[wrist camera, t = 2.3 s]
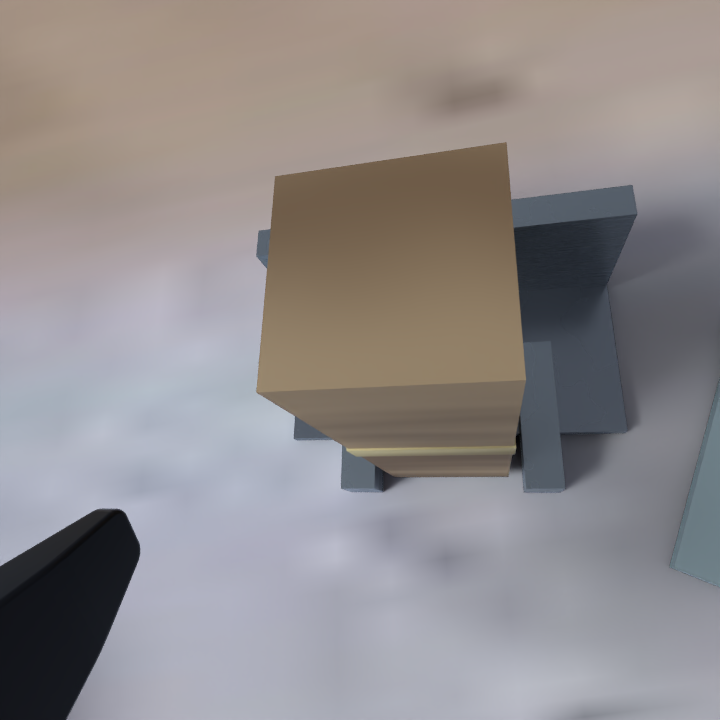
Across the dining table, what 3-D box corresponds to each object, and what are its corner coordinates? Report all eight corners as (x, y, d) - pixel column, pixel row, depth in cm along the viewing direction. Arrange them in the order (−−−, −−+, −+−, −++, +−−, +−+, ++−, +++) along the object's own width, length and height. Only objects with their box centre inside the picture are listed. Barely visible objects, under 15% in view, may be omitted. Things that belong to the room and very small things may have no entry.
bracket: (633, 492, 18) (681, 475, 13) (294, 491, 20) (235, 478, 16) (601, 265, 20) (632, 184, 16) (306, 292, 23) (258, 230, 18)
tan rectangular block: (509, 478, 18) (529, 383, 7) (392, 478, 19) (253, 395, 8) (502, 365, 20) (509, 139, 8) (393, 371, 20) (272, 174, 9)
